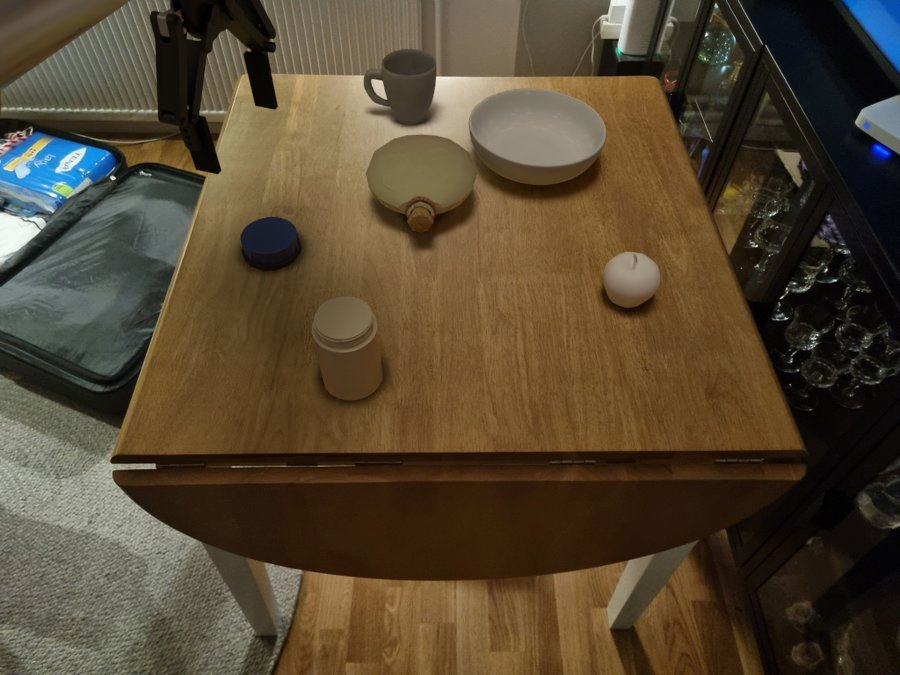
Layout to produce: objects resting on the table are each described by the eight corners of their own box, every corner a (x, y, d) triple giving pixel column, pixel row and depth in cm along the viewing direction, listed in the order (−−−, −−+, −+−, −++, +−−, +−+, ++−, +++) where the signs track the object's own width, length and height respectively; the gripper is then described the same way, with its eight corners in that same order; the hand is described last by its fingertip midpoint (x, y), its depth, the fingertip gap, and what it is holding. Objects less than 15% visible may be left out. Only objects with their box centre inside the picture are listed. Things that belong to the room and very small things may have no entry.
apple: (589, 282, 87) (601, 237, 80) (639, 275, 88) (654, 230, 81) (608, 321, 82) (622, 277, 76) (660, 313, 83) (678, 268, 77)
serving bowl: (551, 222, 94) (558, 184, 89) (440, 166, 102) (440, 127, 97) (622, 157, 104) (632, 119, 99) (516, 111, 113) (520, 73, 107)
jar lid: (309, 249, 88) (307, 238, 87) (259, 273, 85) (255, 262, 84) (283, 220, 92) (280, 209, 91) (233, 241, 89) (230, 230, 88)
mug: (437, 102, 114) (437, 49, 106) (434, 131, 108) (434, 77, 101) (369, 100, 114) (365, 46, 106) (363, 128, 108) (357, 74, 101)
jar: (347, 411, 73) (336, 354, 65) (311, 374, 76) (296, 315, 68) (394, 377, 76) (390, 318, 68) (357, 343, 79) (349, 282, 71)
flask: (473, 170, 101) (478, 254, 90) (371, 170, 101) (364, 254, 90) (476, 119, 94) (481, 203, 83) (366, 118, 93) (357, 203, 83)
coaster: (263, 279, 86) (262, 275, 85) (231, 248, 89) (230, 244, 89) (313, 251, 89) (312, 247, 89) (280, 222, 93) (279, 218, 92)
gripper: (218, -117, 67) (260, 78, 83) (57, -23, 51) (148, 194, 67) (284, -109, 65) (314, 88, 82) (140, -10, 50) (212, 208, 66)
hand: (239, 136), depth 75 cm, fingers open, 13 cm apart
